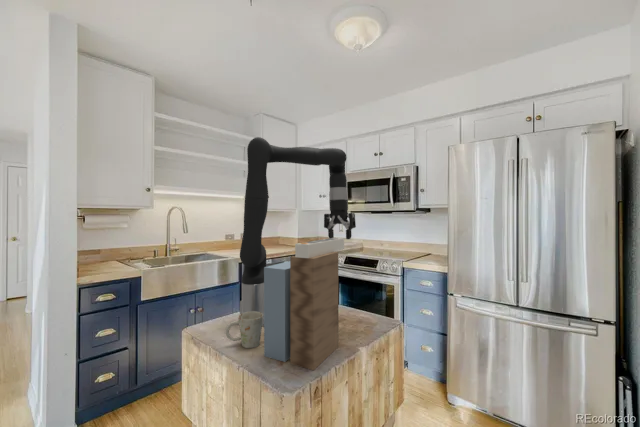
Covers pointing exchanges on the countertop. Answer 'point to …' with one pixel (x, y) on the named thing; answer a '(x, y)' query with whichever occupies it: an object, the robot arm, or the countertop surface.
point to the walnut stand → (313, 309)
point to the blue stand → (277, 311)
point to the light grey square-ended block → (318, 247)
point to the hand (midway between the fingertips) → (339, 238)
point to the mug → (248, 329)
